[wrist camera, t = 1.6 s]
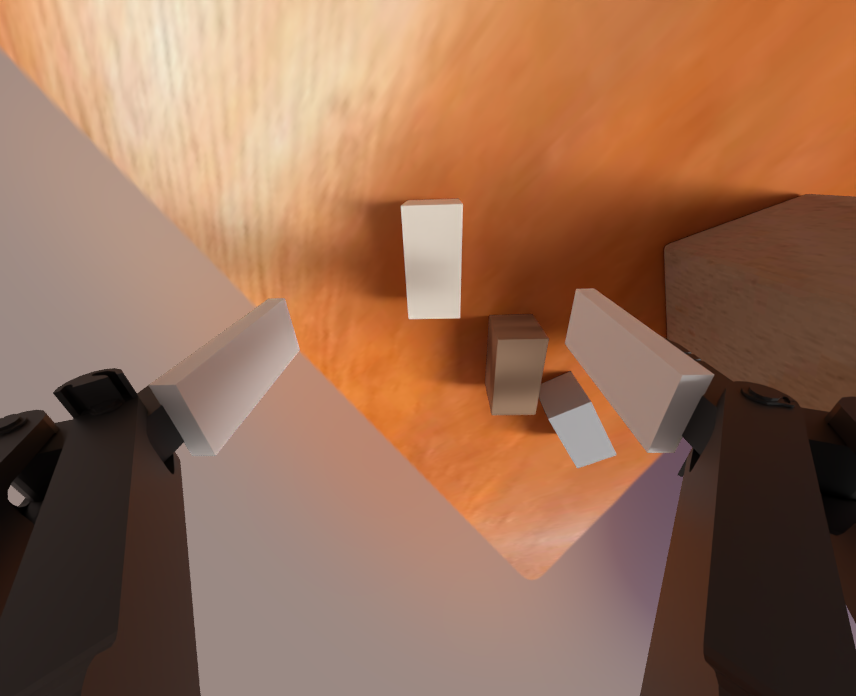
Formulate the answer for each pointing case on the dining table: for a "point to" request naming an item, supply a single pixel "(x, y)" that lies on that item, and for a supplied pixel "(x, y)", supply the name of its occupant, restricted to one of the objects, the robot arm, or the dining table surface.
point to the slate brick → (575, 420)
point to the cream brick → (433, 257)
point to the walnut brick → (514, 363)
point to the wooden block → (772, 298)
